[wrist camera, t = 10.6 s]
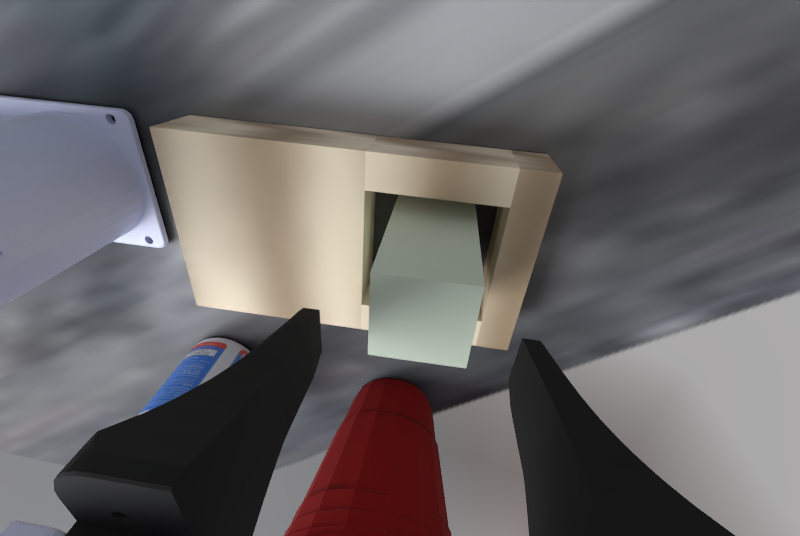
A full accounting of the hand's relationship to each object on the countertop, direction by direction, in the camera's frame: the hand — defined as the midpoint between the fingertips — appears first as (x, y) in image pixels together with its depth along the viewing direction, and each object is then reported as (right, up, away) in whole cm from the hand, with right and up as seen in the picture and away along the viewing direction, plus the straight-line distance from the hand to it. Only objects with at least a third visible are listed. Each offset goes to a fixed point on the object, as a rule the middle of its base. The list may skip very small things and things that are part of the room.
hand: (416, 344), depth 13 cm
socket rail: (-3, +5, +8) cm, 10 cm away
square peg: (+1, +5, +7) cm, 9 cm away
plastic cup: (-1, -8, +16) cm, 18 cm away
